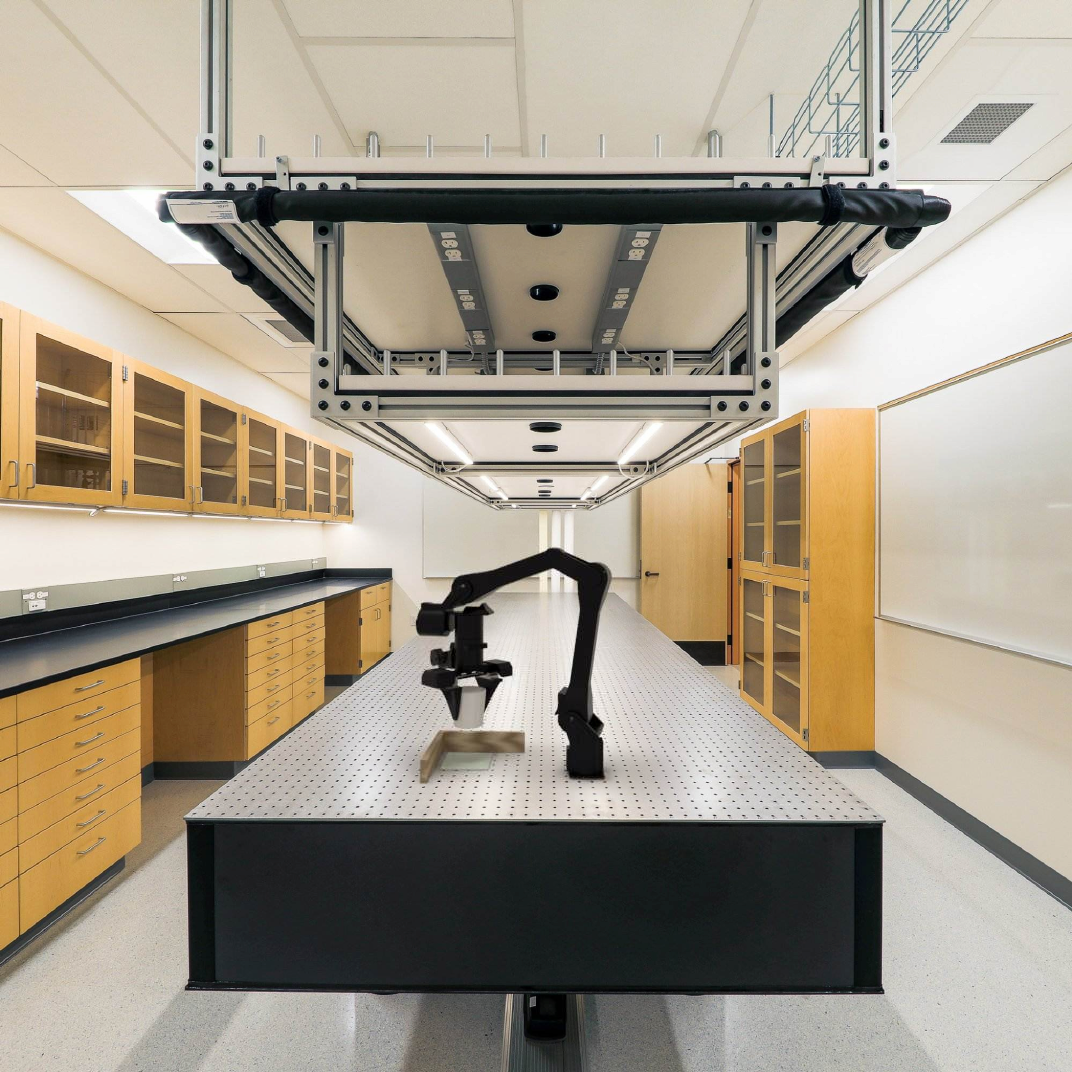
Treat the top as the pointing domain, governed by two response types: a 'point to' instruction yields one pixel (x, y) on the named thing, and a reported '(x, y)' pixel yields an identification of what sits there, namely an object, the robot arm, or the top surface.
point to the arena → (469, 746)
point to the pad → (467, 761)
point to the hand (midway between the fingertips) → (468, 717)
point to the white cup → (471, 707)
